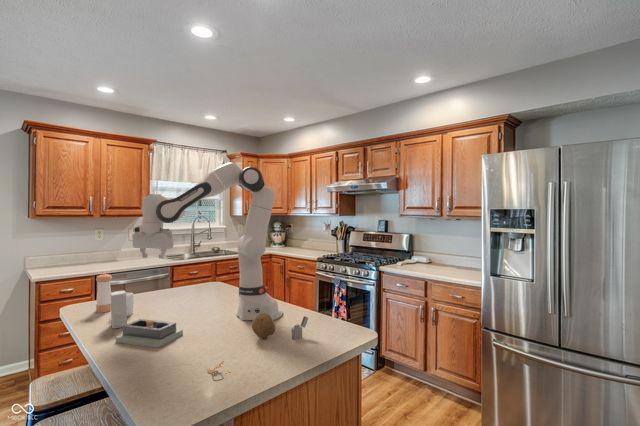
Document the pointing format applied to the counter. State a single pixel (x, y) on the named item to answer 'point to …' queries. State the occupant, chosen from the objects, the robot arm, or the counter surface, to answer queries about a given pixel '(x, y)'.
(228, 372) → the key chain
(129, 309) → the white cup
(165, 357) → the counter surface
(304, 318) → the lighter
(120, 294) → the skincare box
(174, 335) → the plate
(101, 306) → the pepper shaker
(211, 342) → the counter surface
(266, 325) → the natural sponge
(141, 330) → the grey rectangular frame
